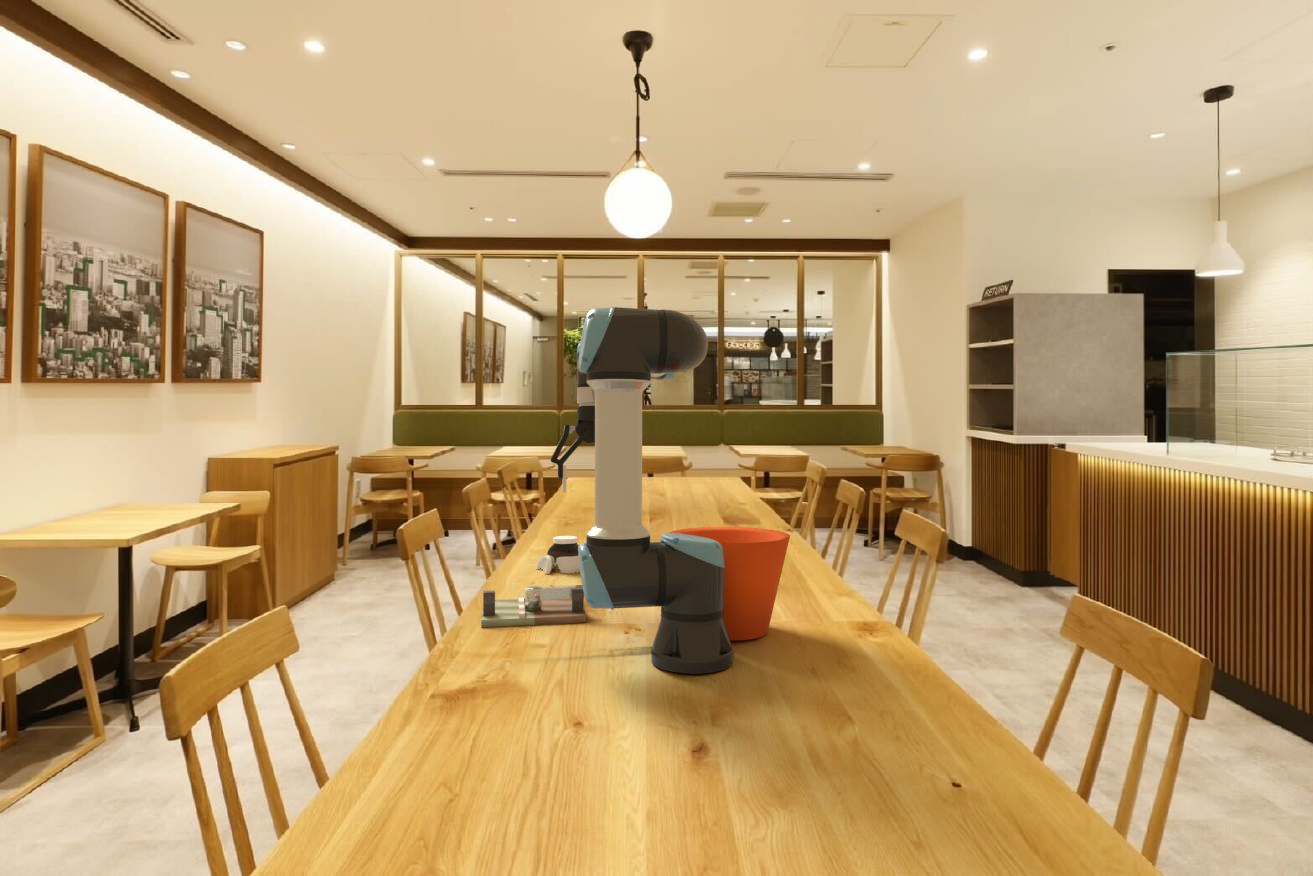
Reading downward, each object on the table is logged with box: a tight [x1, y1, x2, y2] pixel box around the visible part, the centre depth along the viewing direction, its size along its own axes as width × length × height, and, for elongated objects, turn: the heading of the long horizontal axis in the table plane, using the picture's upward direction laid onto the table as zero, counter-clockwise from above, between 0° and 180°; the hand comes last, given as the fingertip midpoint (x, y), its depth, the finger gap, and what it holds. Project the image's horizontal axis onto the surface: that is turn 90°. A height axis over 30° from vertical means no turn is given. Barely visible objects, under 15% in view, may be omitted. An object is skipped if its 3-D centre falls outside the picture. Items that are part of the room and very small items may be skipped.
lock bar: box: [524, 584, 582, 611], centre depth 166 cm, size 13×4×5 cm, turn 101°
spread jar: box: [535, 535, 580, 575], centre depth 208 cm, size 12×11×12 cm
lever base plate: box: [480, 587, 587, 628], centre depth 167 cm, size 19×22×6 cm
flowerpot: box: [669, 526, 791, 641], centre depth 154 cm, size 25×25×20 cm
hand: (592, 491), depth 183 cm, fingers open, 13 cm apart
